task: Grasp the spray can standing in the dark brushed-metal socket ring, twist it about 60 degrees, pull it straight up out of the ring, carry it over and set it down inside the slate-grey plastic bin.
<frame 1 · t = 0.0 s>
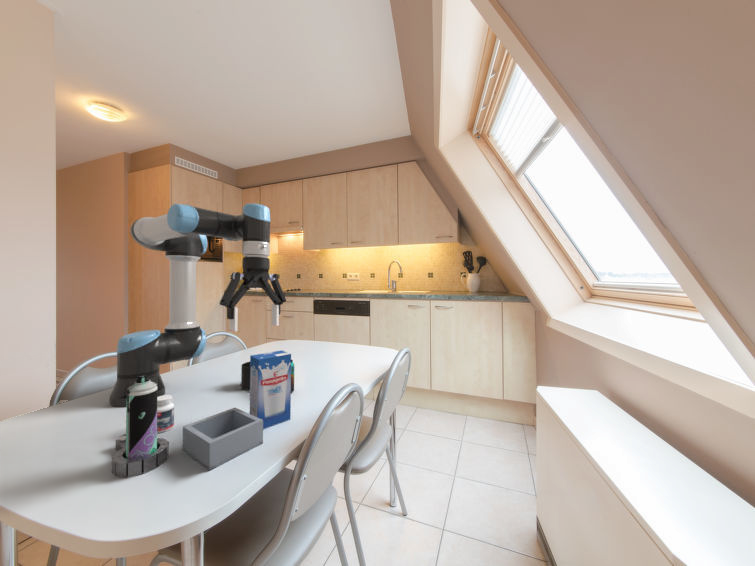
hand: (255, 327, 86), 28 cm above the table, fingers open, 13 cm apart
mug: (255, 387, 113), on the table
spray can: (141, 463, 65), resting in socket ring
beverage can: (284, 393, 108), on the table
milk carton: (270, 421, 86), on the table
pill bottle: (162, 429, 81), on the table
socket ring: (141, 462, 65), on the table
bin: (223, 446, 72), on the table
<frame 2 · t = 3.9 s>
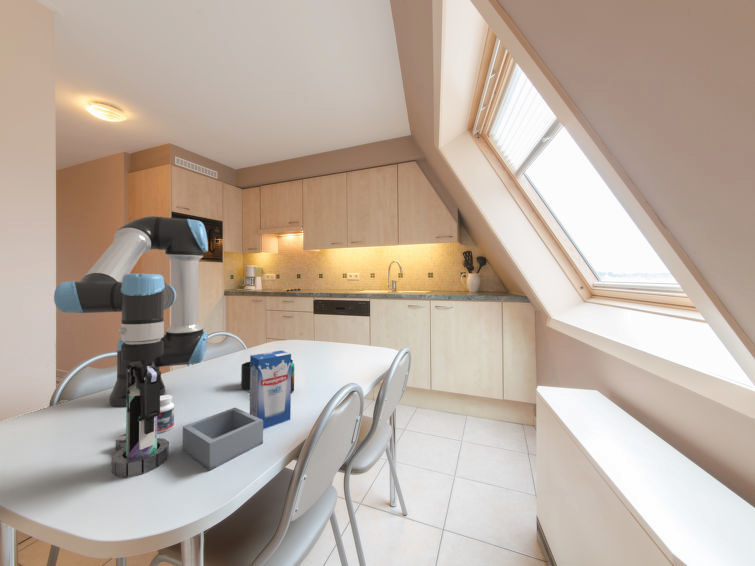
hand: (141, 441, 65), 5 cm above the table, fingers closed on spray can, 5 cm apart
spray can: (141, 463, 65), resting in socket ring, touching gripper
everything else where it was.
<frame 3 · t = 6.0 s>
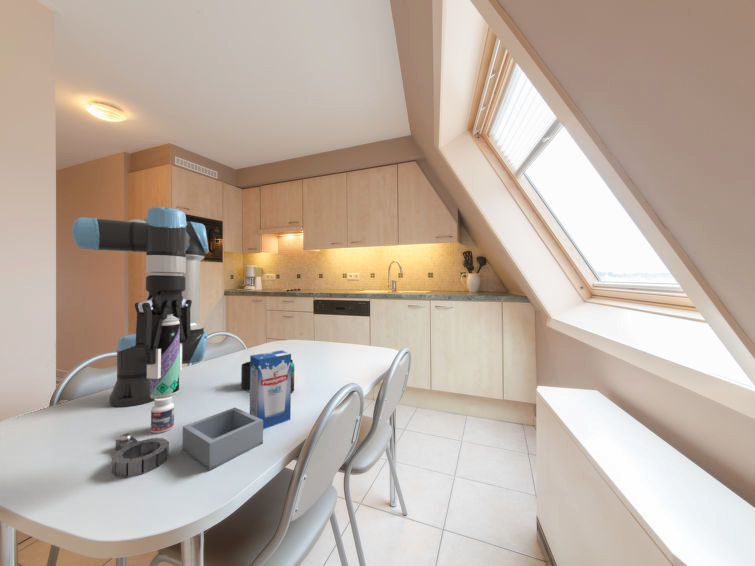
hand: (165, 373, 67), 20 cm above the table, fingers closed on spray can, 5 cm apart
spray can: (164, 395, 67), point 15 cm above the table, touching gripper
everything else where it was.
when the fingers open (8 cm above the table, at t = 8.3 s): spray can drops 2 cm, resting on bin.
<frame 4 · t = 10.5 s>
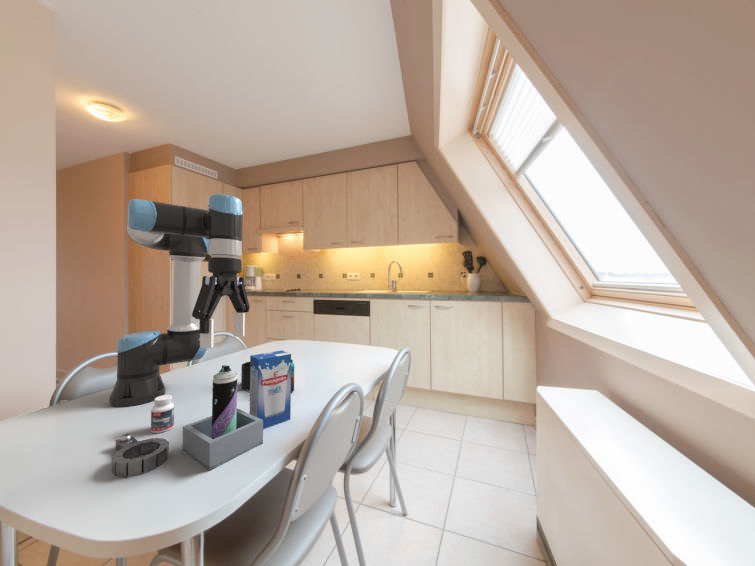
hand: (224, 341, 72), 27 cm above the table, fingers open, 13 cm apart
spray can: (223, 444, 72), resting on bin
everything else where it was.
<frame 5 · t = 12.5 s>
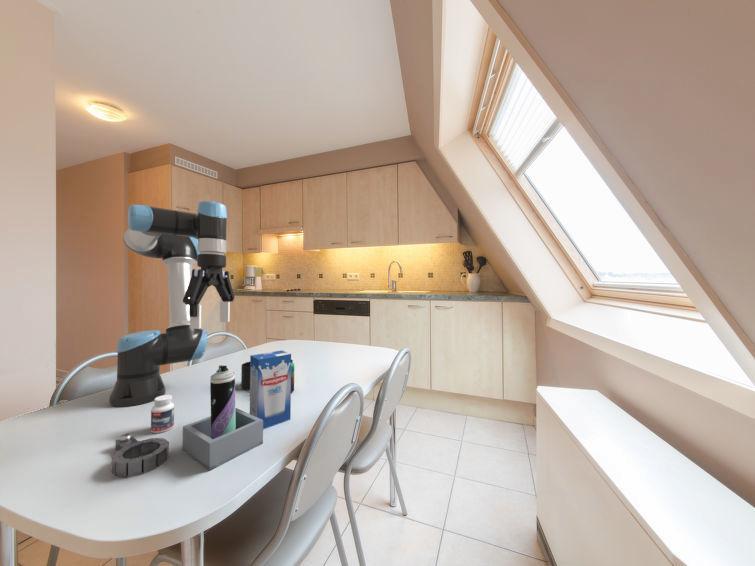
hand: (211, 325, 86), 29 cm above the table, fingers open, 13 cm apart
nothing on the table moved.
at the end: spray can inside the target area on the bin (0.0 cm from its centre), point 0.5 cm above the bin's base; the gripper is holding nothing; spray can moved 16.7 cm from its start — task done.
